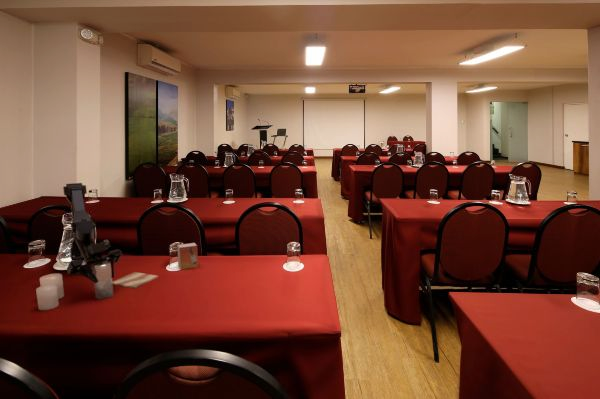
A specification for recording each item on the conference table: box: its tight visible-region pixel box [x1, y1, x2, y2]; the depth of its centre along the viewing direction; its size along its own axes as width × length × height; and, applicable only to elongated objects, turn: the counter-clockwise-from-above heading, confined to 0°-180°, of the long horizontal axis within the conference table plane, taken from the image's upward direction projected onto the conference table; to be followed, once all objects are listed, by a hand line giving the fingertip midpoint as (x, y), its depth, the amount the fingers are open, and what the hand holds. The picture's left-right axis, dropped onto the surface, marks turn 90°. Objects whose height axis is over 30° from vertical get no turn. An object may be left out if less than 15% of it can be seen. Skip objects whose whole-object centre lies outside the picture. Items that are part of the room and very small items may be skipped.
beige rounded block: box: [39, 273, 65, 300], centre depth 142 cm, size 7×7×8 cm
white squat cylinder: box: [35, 284, 60, 311], centre depth 134 cm, size 6×6×7 cm
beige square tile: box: [112, 271, 159, 289], centre depth 159 cm, size 13×13×1 cm
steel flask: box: [92, 261, 114, 300], centre depth 143 cm, size 6×6×12 cm
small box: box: [176, 242, 199, 270], centre depth 174 cm, size 8×6×10 cm
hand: (105, 279), depth 142 cm, fingers closed on steel flask, 6 cm apart
